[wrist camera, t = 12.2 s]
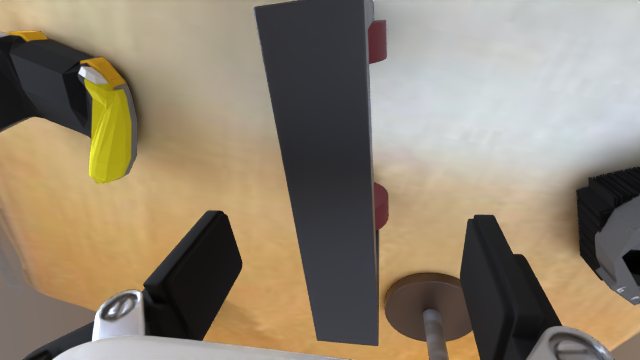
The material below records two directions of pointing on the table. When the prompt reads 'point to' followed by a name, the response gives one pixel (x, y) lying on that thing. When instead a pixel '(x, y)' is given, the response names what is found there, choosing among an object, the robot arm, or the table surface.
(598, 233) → the cpu cooler
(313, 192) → the headset
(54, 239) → the table surface
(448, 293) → the stand
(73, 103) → the gaming controller
